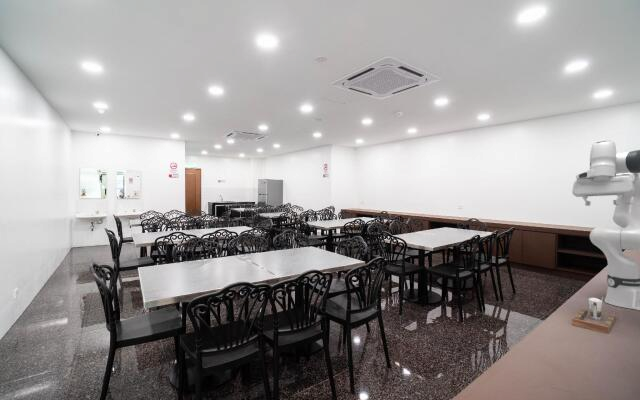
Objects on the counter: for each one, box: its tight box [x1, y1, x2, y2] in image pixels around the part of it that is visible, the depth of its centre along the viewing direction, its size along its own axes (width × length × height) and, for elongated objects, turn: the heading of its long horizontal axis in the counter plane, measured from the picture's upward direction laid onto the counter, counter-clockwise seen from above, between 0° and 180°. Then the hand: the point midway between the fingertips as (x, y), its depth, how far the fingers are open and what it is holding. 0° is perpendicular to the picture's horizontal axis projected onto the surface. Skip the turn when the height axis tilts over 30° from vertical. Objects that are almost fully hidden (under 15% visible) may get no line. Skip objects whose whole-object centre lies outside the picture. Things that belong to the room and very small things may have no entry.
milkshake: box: [588, 296, 604, 321], centre depth 135 cm, size 5×5×10 cm
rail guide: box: [571, 307, 617, 334], centre depth 132 cm, size 24×11×2 cm, turn 130°
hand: (601, 205), depth 133 cm, fingers open, 8 cm apart
